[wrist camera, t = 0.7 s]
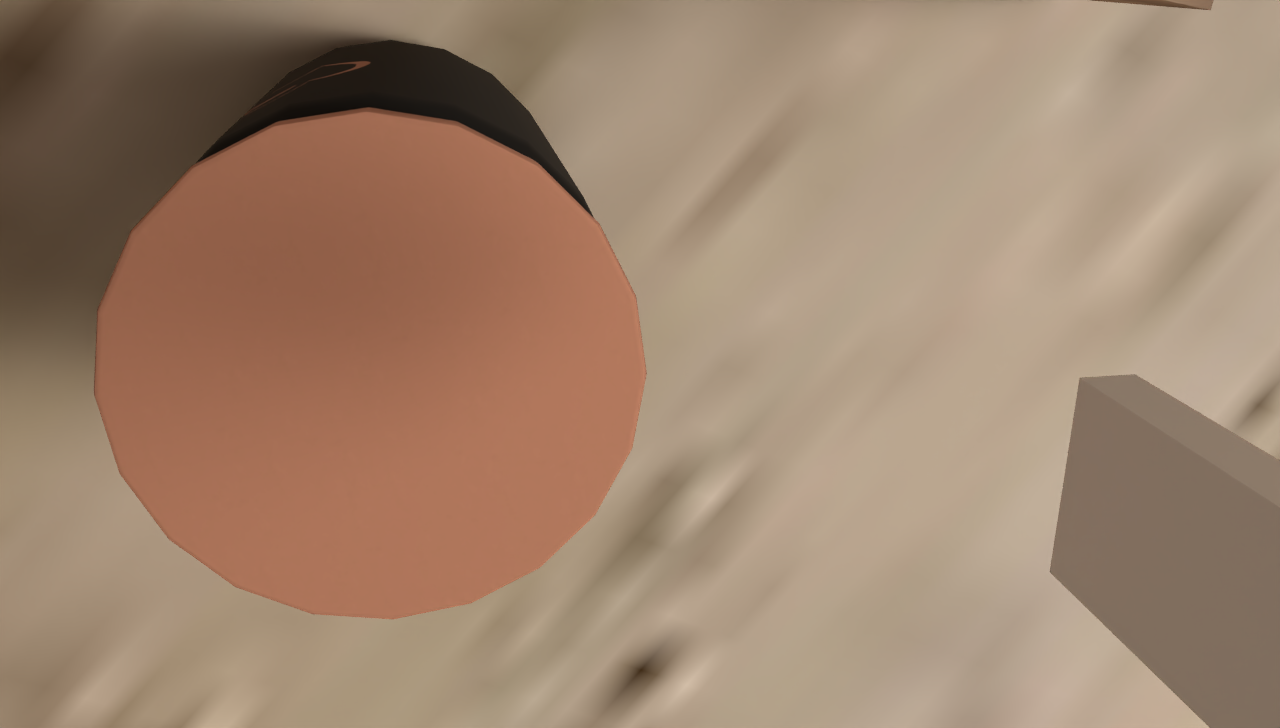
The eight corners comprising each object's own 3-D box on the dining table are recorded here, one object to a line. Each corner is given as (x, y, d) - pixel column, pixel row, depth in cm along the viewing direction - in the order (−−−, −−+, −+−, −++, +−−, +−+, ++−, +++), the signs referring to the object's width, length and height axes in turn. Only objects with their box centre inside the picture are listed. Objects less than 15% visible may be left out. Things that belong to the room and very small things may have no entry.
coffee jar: (350, -33, 37) (290, -16, 20) (617, 164, 41) (753, 317, 24) (170, 238, 39) (-21, 459, 22) (441, 404, 42) (452, 703, 26)
